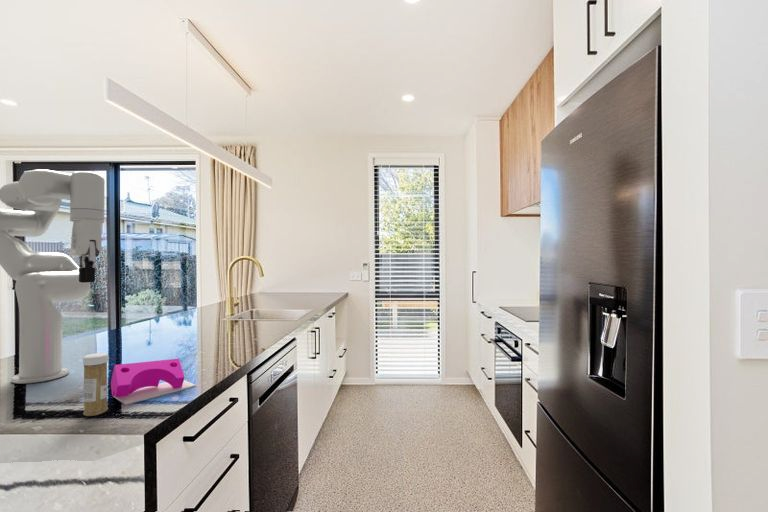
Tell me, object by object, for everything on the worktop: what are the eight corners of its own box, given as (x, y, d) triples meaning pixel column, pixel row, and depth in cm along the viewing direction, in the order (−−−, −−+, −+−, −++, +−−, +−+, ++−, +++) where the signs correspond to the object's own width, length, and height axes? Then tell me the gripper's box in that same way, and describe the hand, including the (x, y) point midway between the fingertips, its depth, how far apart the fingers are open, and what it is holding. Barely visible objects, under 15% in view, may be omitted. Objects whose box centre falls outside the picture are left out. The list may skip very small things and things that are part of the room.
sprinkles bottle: (111, 411, 88) (112, 353, 88) (88, 418, 84) (89, 358, 84) (101, 407, 90) (101, 351, 90) (78, 414, 86) (79, 355, 86)
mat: (112, 396, 97) (112, 394, 97) (181, 379, 111) (181, 378, 111) (125, 404, 92) (125, 403, 92) (195, 386, 105) (195, 384, 105)
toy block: (110, 383, 98) (113, 405, 93) (114, 364, 96) (117, 385, 91) (174, 375, 109) (179, 394, 104) (178, 358, 107) (184, 377, 102)
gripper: (63, 217, 107) (62, 281, 107) (78, 213, 98) (77, 284, 97) (95, 219, 113) (94, 280, 113) (112, 216, 104) (111, 282, 103)
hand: (86, 282), depth 105 cm, fingers closed
